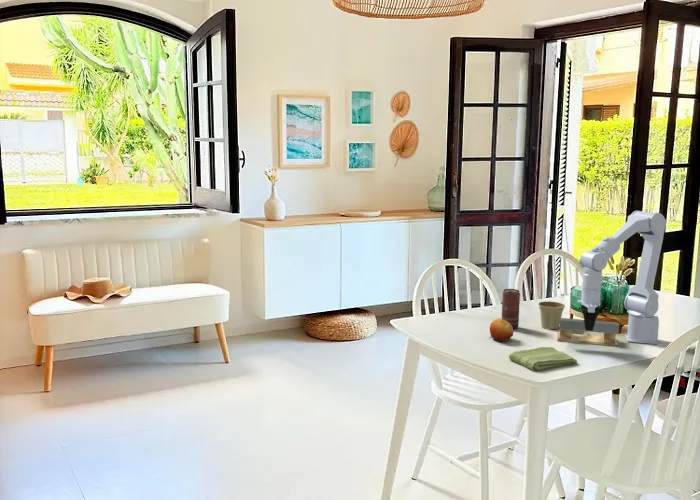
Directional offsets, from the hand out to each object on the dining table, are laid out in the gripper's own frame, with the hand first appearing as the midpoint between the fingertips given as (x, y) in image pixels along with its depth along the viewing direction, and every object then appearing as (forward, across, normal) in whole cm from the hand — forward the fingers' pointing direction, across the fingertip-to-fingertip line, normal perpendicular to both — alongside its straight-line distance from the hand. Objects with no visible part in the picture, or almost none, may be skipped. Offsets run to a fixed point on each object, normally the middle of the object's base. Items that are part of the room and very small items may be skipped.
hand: (588, 328), depth 213 cm
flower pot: (+7, -22, -12) cm, 26 cm away
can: (+7, -17, -26) cm, 32 cm away
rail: (0, 0, 0) cm, 0 cm away
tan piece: (+6, -9, 0) cm, 11 cm away
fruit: (+7, -1, -28) cm, 29 cm away
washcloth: (+7, +18, -14) cm, 24 cm away
